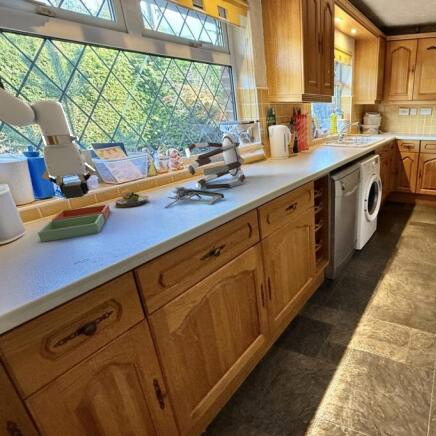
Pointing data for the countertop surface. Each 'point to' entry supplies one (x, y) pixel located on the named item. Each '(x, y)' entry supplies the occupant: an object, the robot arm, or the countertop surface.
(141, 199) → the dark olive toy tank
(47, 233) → the near bin
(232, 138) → the jointed toy figure
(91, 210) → the far bin
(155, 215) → the countertop surface
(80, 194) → the packet
